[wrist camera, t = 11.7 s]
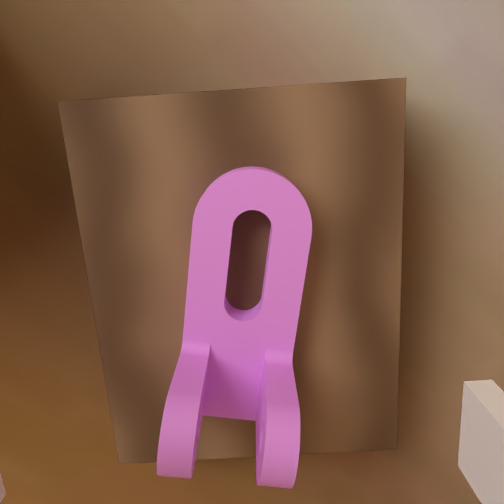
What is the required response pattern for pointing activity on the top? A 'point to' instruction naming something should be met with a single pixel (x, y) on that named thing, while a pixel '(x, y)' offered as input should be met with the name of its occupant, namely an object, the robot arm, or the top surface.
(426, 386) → the top surface
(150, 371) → the walnut block
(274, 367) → the bracket
